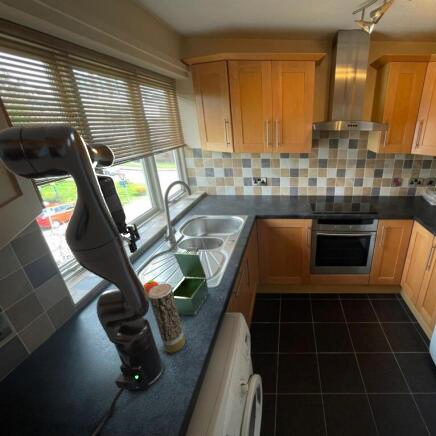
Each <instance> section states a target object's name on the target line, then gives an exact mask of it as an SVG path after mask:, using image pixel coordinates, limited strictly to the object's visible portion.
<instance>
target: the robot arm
mask: <svg viewBox="0 0 436 436" xmlns="http://www.w3.org/2000/svg"><path fill="white" fill-rule="evenodd" d="M0 162H1V163H2V165H3V166H4V167H5V168H6V169H7V170H8V172H10V173H12V174H13V175H14V176H16V177H19V178H22V179H27V180H47V179H56V178H66V177H71V178H72V179H73V181H74V184H75V189H76V198H75V203H74V207H73V210H72V213H71V215H70V218H69V219H68V220H69V221H68V222H67V226H66V229H65V234H64V237H65V238H64V239H65V242H66V245H67V246H68V249H69V250H70V252H71V254H72V255H73V257H74V259H75V260H76V262H77V263H78V265H80V266H81V267H82V268H83V269H84V270H86V271H88V272H89V273H91V274H93V275H94V276H96V277H99V278H101V279H103V280H104V281H106V282H108V283H110V284H112V285H113V286H115V287H116V288H114V289H109V290H105V291H104V292H102V293H101V294H100V295H99V297H98V298H97V301H96V315H97V318H98V321H99V323H100V325H101V327H102V329H103V331H104V333H105V334H106V337H107V339H108V340H109V341H110V342H111V344H113V345H114V348H115V350H116V352H117V354H118V357H119V360H120V362H121V365H120V366H119V369H120V372H121V373H120V374H119V375H118V376H117V378H116V379H115V381H114V382H115V384H116V387H117V389H119V390H118V392H117V394H116V395H115V396H114V398H113V400H112V402H111V403H110V407H109V409H108V411H107V412H106V414H105V416H104V417H103V419H102V420H101V422H100V424H99V425H98V426H97V428H96V429H95V430H94V432H93V433H92V434H91V436H97V435H98V434H99V432H100V431H101V430H102V429H103V427H104V425H105V423H107V420H108V419H109V417H110V416H111V414H112V412H113V411H114V409H115V406H116V403H117V402H118V400H119V398H120V396H122V393H123V392H124V390H130V391H131V390H132V391H136V390H140V391H141V390H142V391H147V390H148V389H149V387H150V386H152V385H154V384H155V383H156V382H157V381H158V380H159V379H160V378H161V376H162V375H163V373H164V368H165V367H164V363H163V361H162V358H161V355H160V352H159V348H158V346H157V343H156V340H155V337H154V334H153V330H152V328H151V327H152V326H151V324H150V322H149V320H148V319H147V318H145V316H146V315H147V314H148V312H149V308H150V300H149V296H148V295H147V292H146V290H145V288H144V284H143V282H142V281H141V279H140V277H139V275H138V274H137V272H136V270H135V268H134V267H133V264H132V262H131V259H130V257H129V254H128V252H127V249H126V247H125V244H124V241H125V242H126V243H127V246H128V249H129V252H130V254H134V253H136V252H137V251H138V246H137V245H138V244H137V243H136V242H139V240H141V236H140V233H139V230H138V227H137V225H136V223H132V224H127V222H126V220H127V216H126V213H125V210H124V207H123V203H122V200H121V198H120V197H121V196H120V195H119V193H118V189H117V187H116V183H115V180H114V178H113V177H112V176H111V175H108V174H107V175H106V174H98V173H96V172H95V171H96V170H95V169H105V168H111V166H113V164H115V163H114V162H115V154H114V152H113V150H112V149H111V148H110V147H109V146H108V145H106V144H104V143H88V142H85V141H84V139H83V137H82V135H81V134H80V133H79V131H78V130H77V129H76V128H75V127H73V126H71V125H69V124H48V125H23V126H22V125H21V126H11V127H6V128H4V129H1V130H0Z"/></svg>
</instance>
